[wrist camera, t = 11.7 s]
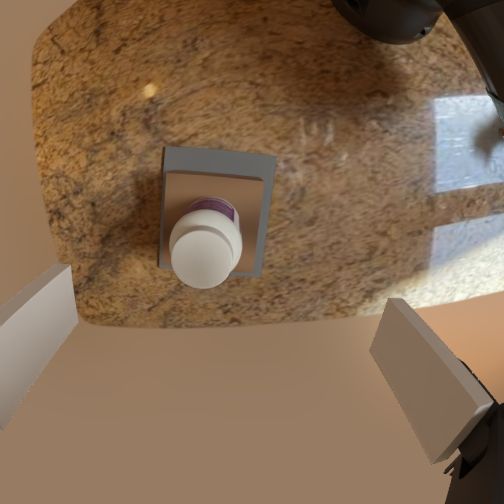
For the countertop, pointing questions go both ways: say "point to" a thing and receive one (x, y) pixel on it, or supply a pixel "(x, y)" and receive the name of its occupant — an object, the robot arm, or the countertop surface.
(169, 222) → the base block
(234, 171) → the mat
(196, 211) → the pill bottle
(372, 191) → the countertop surface
